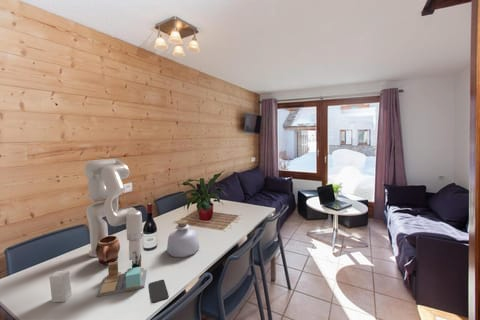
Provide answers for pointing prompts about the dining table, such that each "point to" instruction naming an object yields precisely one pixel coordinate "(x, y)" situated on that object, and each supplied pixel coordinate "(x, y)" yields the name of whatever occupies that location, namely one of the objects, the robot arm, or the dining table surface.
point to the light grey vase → (182, 241)
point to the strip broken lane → (112, 278)
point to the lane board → (118, 285)
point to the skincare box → (60, 286)
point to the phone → (158, 291)
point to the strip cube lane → (141, 273)
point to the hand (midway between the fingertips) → (137, 266)
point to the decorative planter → (107, 249)
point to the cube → (133, 277)
